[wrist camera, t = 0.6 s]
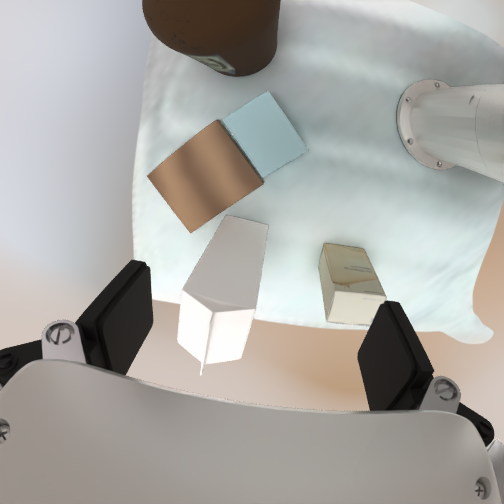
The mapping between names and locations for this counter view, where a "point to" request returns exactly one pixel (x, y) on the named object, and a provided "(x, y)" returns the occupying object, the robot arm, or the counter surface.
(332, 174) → the counter surface
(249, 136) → the brick
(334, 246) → the skincare box
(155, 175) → the board
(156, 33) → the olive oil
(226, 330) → the milk
